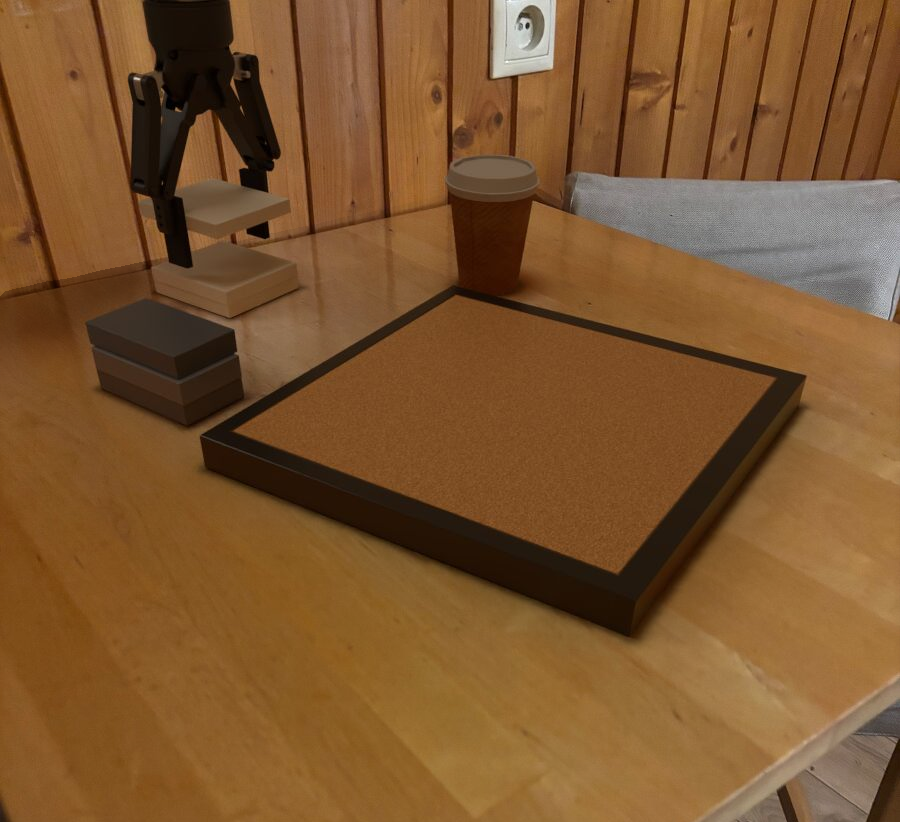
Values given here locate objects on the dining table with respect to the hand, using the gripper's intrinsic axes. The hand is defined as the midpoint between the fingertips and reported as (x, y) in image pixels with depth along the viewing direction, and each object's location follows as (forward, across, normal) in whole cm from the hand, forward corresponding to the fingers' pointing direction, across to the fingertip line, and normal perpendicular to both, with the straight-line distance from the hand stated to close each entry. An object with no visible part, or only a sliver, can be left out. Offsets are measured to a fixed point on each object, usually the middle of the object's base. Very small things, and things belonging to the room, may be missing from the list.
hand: (220, 249), depth 96 cm
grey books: (+4, -19, -13) cm, 23 cm away
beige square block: (+4, 0, 0) cm, 4 cm away
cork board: (+4, -7, -41) cm, 42 cm away
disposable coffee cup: (+4, +18, -21) cm, 28 cm away
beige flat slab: (-4, 0, 0) cm, 4 cm away
